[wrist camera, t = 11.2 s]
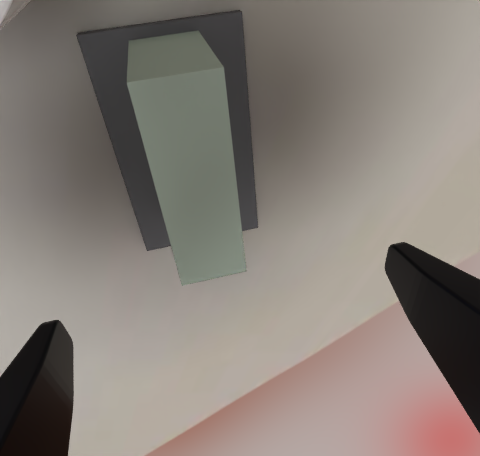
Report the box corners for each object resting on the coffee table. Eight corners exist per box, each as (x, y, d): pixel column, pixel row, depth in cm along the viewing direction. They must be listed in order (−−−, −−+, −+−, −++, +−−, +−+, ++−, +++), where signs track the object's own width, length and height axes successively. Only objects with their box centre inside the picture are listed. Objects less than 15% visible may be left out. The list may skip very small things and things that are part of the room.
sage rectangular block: (222, 200, 22) (246, 271, 17) (171, 211, 22) (181, 285, 17) (198, 30, 16) (223, 67, 12) (128, 40, 16) (126, 82, 11)
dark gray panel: (239, 9, 17) (241, 11, 16) (256, 223, 24) (258, 227, 24) (77, 32, 16) (76, 35, 15) (146, 245, 23) (147, 250, 23)
